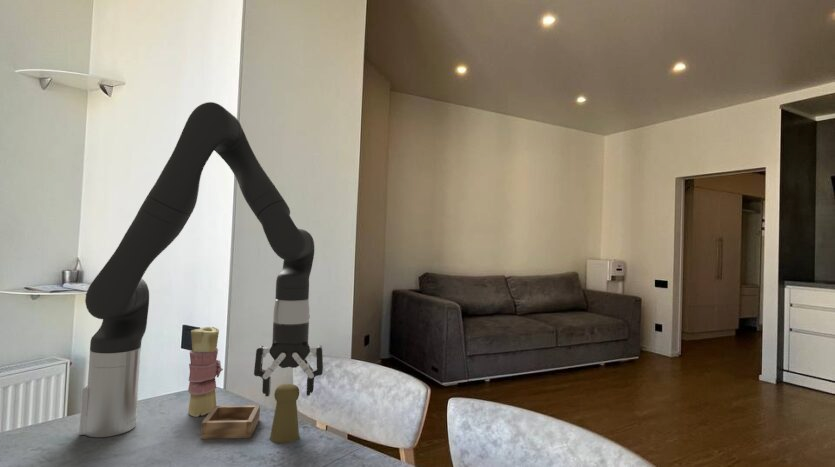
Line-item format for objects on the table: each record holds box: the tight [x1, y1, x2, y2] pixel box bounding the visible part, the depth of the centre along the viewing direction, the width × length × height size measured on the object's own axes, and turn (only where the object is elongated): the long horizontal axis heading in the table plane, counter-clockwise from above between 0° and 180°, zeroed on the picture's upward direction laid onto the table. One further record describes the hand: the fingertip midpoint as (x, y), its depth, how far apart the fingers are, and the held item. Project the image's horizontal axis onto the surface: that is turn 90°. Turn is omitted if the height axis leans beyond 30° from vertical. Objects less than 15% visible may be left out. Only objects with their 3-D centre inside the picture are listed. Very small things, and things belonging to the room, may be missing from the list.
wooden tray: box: [200, 404, 261, 440], centre depth 99 cm, size 10×10×3 cm
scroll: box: [187, 326, 224, 418], centre depth 109 cm, size 8×8×20 cm
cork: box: [269, 383, 300, 444], centre depth 97 cm, size 6×6×11 cm
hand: (288, 395), depth 97 cm, fingers open, 8 cm apart
